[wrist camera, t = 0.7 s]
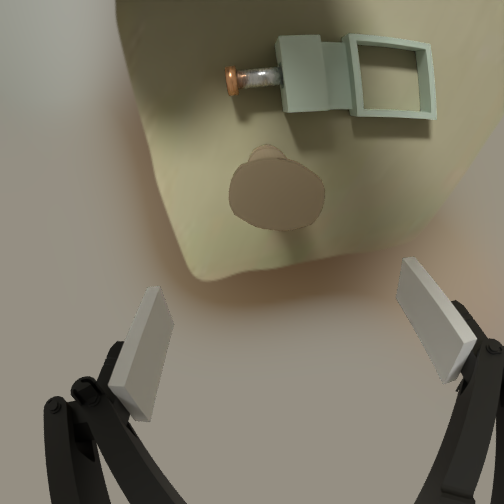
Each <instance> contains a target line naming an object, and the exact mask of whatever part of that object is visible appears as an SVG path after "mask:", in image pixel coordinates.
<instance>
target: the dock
mask: <svg viewBox="0 0 504 504" xmlns="http://www.w3.org/2000/svg"><path fill="white" fill-rule="evenodd" d="M341 39H342V42H321V38H320V35H285V36H279V37H278V39H277V41H276V43H275V51H276V58H277V66H278V67H282V72H283V80H284V85H280V89H281V98H282V106H283V112H287V113H293V112H309V111H329V109H349V110H350V116H357V117H401V118H419V119H432V120H437V112H436V92H435V79H434V69H433V60H432V52H431V45H430V44H427V43H422V42H417V41H411V40H405V39H399V38H392V37H384V36H375V35H365V34H351V33H348V34H346V35H345V36H343V37H342V38H341ZM357 45H368V46H379V47H388V48H396V49H404V50H410V51H415V53H416V61H417V70H418V81H419V93H420V111H409V110H390V109H364V104H363V92H362V82H361V72H360V64H359V56H358V48H357Z"/></svg>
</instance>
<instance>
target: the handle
mask: <svg viewBox="0 0 504 504" xmlns="http://www.w3.org/2000/svg"><path fill="white" fill-rule="evenodd" d="M324 199H325V189H324V185H323V183H322V180H321V179H320V178H319V177H318V176H317V175H316V174H314V173H313V172H312V171H310V170H309V169H307V168H306V167H304V166H303V165H301V164H300V163H298V162H296V161H293V160H289V159H287V158H286V156H285V155H284V154H283V153H282V152H281V151H280V150H279V149H277V148H276V147H273V146H271V145H269V144H265V145H263V146H260V147H258V148H256V149H254V150H253V152H252V153H251V155H250V157H249V160H248V162H247V163H244V164H241V165H240V166H239V167H238V168H237V170H236V171H235V173H234V174H233V177H232V179H231V183H230V188H229V203H230V207H231V209H232V211H233V213H234V215H236V216H238V217H239V218H241V219H242V220H244V221H246V222H248V223H249V224H251V225H253V226H255V227H258V228H262V229H269V230H277V231H289V230H294V229H298V228H301V227H305V226H308V225H311V224H312V223H313V222H314V221H315V220H316V219H317V218H318V217H319V215H320V213H321V211H322V208H323V205H324Z"/></svg>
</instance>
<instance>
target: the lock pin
mask: <svg viewBox="0 0 504 504" xmlns="http://www.w3.org/2000/svg"><path fill="white" fill-rule="evenodd" d="M225 76H226V83H227V89H228V94H229V96H233V95H239V89H244V88H252V87H262V86H273V85H284V80H283V72H282V67H269V68H258V69H249V70H240V71H236V68H235V66H229V67H225Z"/></svg>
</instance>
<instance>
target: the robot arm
mask: <svg viewBox="0 0 504 504" xmlns="http://www.w3.org/2000/svg"><path fill="white" fill-rule="evenodd" d="M396 299H397V301H398V303H399V304H400V306H401V307H402V309H403V311H404V313H405V314H406V316H407V318H408V319H409V321H410V323H411V325H412V326H413V328H414V330H415V332H416V334H417V335H418V337H419V339H420V341H421V343H422V344H423V346H424V348H425V350H426V352H427V354H428V356H429V357H430V359H431V361H432V363H433V365H434V367H435V369H436V371H437V373H438V375H439V377H440V379H441V381H442V383H443V384H446V383H449V382H451V381H454V380H456V379H457V377H458V375H459V373H460V372H461V373H462V375H463V379H462V381H461V382H460V384H459V386H458V387H457V389H456V391H457V392H458V390H459V392H458V396H457V399H456V403H455V406H454V409H453V412H452V416H451V419H450V422H449V425H448V428H447V430H446V433H445V436H444V439H443V441H442V444H441V447H440V449H439V452H438V454H437V457H436V459H435V461H434V464H433V466H432V469H431V471H430V473H429V475H428V477H427V479H426V481H425V483H424V486H423V488H422V490H421V492H420V494H419V495H418V498H417V500H416V501H415V503H414V504H475V500H474V498H473V494H474V491H475V488H476V486H477V483H478V480H479V477H480V474H481V471H482V468H483V465H484V462H485V458H486V455H487V451H488V447H489V444H490V440H491V436H492V432H493V427H494V423H495V418H496V456H495V471H494V481H493V490H492V497H491V503H490V504H504V346H502V344H500V342H498V341H497V340H495V339H490V338H489V339H488V338H487V337H486V335H485V334H484V332H483V331H482V330H481V328H480V327H479V325H478V324H477V323H476V321H475V320H474V319H473V317H472V316H471V315H470V314H469V312H468V311H467V309H466V308H465V307H464V305H462V304H461V303H459V302H458V301H456V300H455V301H450V300H449V299H448V297H447V296H446V295H445V294H444V292H443V291H442V290H441V289H440V288H439V286H438V285H437V283H436V282H435V281H434V280H433V279H432V277H431V276H430V275H429V274H428V272H427V271H426V270H425V269H424V268H423V266H422V265H421V264H420V263H419V262H418V260H417V259H416V258H415V257H407V258H403V259H402V266H401V272H400V278H399V284H398V289H397V294H396ZM173 326H174V323H173V320H172V317H171V315H170V312H169V309H168V306H167V303H166V301H165V298H164V295H163V292H162V289H161V287H160V286H157V287H148V288H147V290H146V292H145V294H144V297H143V299H142V301H141V303H140V306H139V308H138V310H137V313H136V315H135V317H134V320H133V322H132V325H131V327H130V329H129V332H128V334H127V337H126V339H125V341H121V342H120V341H117V342H116V343H115V344H114V345H113V346H112V347H111V348H110V350H109V352H108V355H107V359H106V360H105V362H104V365H103V367H102V369H101V372H100V374H99V377H98V379H97V381H96V380H95V379H94V378H92V377H90V376H89V377H88V376H87V377H82V378H79V379H78V380H77V381H75V383H74V384H73V385H72V388H71V396H72V397H73V398H74V399H75V400H76V401H72V402H66V401H65V400H64V398H63V397H60V396H55V397H53V398H50V399H49V400H48V401H47V402H46V404H45V406H44V441H45V456H46V467H47V476H48V483H49V491H50V497H51V503H52V504H111V502H110V499H109V495H108V491H107V488H106V484H105V480H104V476H103V472H102V468H101V463H100V459H99V454H98V449H97V445H98V447H99V449H100V451H101V453H102V455H103V456H104V459H105V461H106V463H107V464H108V466H109V468H110V470H111V472H112V474H113V475H114V477H115V479H116V481H117V483H118V484H119V486H120V488H121V490H122V491H123V493H124V494H125V496H126V498H127V499H128V501H129V503H130V504H187V503H186V502H185V501H184V500H183V498H182V497H181V496H180V495H179V494H178V492H177V491H176V490H175V488H174V487H173V486H172V485H171V483H170V482H169V481H168V479H167V478H166V477H165V475H163V473H162V471H161V470H160V468H159V467H158V466H157V464H156V463H155V462H154V460H153V459H152V457H151V456H150V454H149V453H148V451H147V450H146V448H145V447H144V445H143V443H142V442H141V440H140V439H139V437H138V436H137V434H136V432H135V431H134V429H133V428H132V426H131V424H130V423H129V422H128V420H129V416H130V415H131V416H132V417H133V419H134V420H135V421H144V422H150V421H151V416H152V412H153V407H154V403H155V399H156V394H157V390H158V386H159V382H160V377H161V373H162V369H163V365H164V361H165V357H166V353H167V349H168V345H169V342H170V338H171V334H172V330H173ZM96 443H97V444H96Z"/></svg>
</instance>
